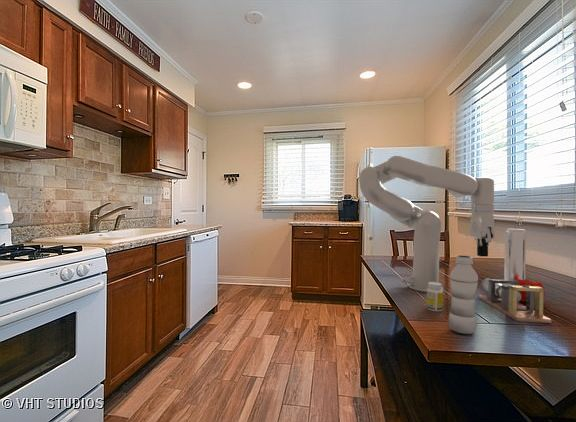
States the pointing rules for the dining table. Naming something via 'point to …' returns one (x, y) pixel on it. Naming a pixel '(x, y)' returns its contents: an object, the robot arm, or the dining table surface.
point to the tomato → (528, 283)
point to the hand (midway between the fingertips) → (482, 256)
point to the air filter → (515, 254)
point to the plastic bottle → (463, 296)
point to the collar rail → (510, 301)
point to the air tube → (497, 289)
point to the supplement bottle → (435, 296)
